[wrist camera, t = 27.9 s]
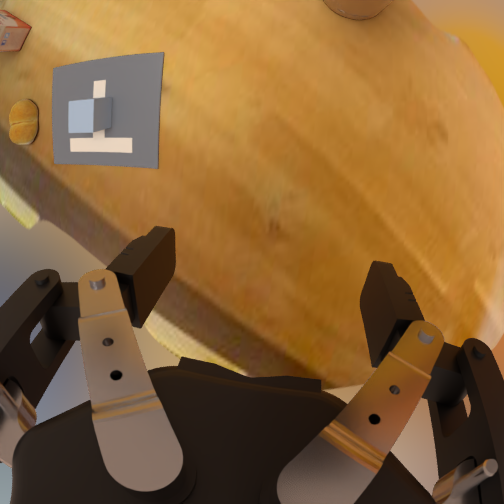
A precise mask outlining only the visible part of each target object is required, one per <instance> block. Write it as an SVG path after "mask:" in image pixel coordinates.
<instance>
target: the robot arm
mask: <svg viewBox="0 0 504 504" xmlns="http://www.w3.org/2000/svg"><path fill="white" fill-rule="evenodd" d="M323 1H324V2H325V4H326V5H327V6H328V7H329V8H330V9H331V10H333V11H334V12H336V13H337V14H339V15H341V16H343V17H347V18H350V19H356V20H364V19H369V18H372V17H374V16H376V15H377V14H378V13H380V12H381V11H382V10H383V9H384V8H385V7H386V6H388V5H389V4H390V3H391V2H392V1H393V0H323ZM175 265H176V254H175V231H174V229H173V228H167V227H160V226H155V227H154V228H153V229H152V230H151V231H150V232H149V233H148V234H147V235H146V236H141V237H139V238H137V239H135V240H133V241H132V242H131V243H130V244H129V245H128V246H127V247H126V249H124V250H123V251H122V252H121V254H119V255H118V256H117V257H116V258H115V259H114V260H113V261H112V262H111V264H110V265H109V266H108V267H107V268H106V269H98V270H93V271H90V272H88V273H86V274H84V275H83V276H82V277H81V278H80V279H79V282H61V280H60V276H59V273H58V272H57V271H55V270H51V269H44V270H40V271H38V272H35V273H34V274H32V275H31V276H30V277H29V278H28V279H27V280H26V281H25V282H24V283H23V284H22V285H21V286H20V287H19V288H18V289H17V290H16V291H15V292H14V293H13V294H12V295H11V296H10V298H9V299H8V300H7V301H6V302H5V303H4V304H3V305H2V306H1V307H0V463H2V462H3V463H5V464H6V465H7V466H9V467H11V468H12V477H13V480H12V495H11V501H10V504H504V380H503V377H502V375H501V372H500V370H499V367H498V365H497V363H496V360H495V358H494V356H493V354H492V351H491V350H490V348H489V347H488V346H487V345H486V344H485V343H484V342H482V341H480V340H478V339H475V338H469V339H467V340H465V342H464V343H463V345H462V346H461V348H460V347H457V346H454V345H451V344H448V343H446V342H444V336H443V334H442V332H441V331H440V330H439V329H438V328H437V327H436V326H435V325H433V324H431V323H429V322H427V321H425V320H424V317H423V315H422V313H421V310H420V308H419V306H418V303H417V302H416V299H415V297H414V295H413V292H412V290H411V288H410V286H409V284H408V283H407V282H406V281H405V280H404V279H403V278H402V277H398V276H397V273H396V271H395V269H394V267H393V265H392V264H391V263H386V262H380V261H373V262H372V264H371V267H370V270H369V273H368V275H367V278H366V281H365V284H364V287H363V290H362V293H361V297H360V309H361V314H362V318H363V323H364V328H365V333H366V338H367V343H368V348H369V353H370V359H371V364H372V367H376V368H377V369H376V370H375V371H374V373H373V374H372V375H371V377H370V378H369V379H368V380H367V382H366V383H365V384H364V385H363V387H362V388H361V389H360V390H359V391H358V393H357V394H356V395H355V396H354V397H353V399H352V400H351V401H350V402H349V403H348V404H346V403H345V402H344V401H342V400H341V399H340V398H337V397H336V396H334V395H332V394H330V393H328V392H325V391H322V390H321V380H319V379H309V378H301V377H293V376H276V377H256V378H251V377H247V376H244V375H241V374H239V373H236V372H234V371H231V370H229V369H226V368H224V367H222V366H219V365H217V364H214V363H209V362H204V361H200V360H195V359H191V358H186V357H181V359H180V362H179V365H178V366H167V367H160V368H155V369H152V370H149V371H147V369H146V366H145V363H144V361H143V358H142V355H141V352H140V349H139V346H138V343H137V340H136V337H135V334H134V331H133V328H132V326H133V327H137V328H142V326H143V324H144V323H145V321H146V319H147V318H148V316H149V314H150V313H151V311H152V309H153V308H154V306H155V304H156V303H157V301H158V299H159V298H160V296H161V294H162V293H163V291H164V289H165V288H166V286H167V285H168V283H169V281H170V280H171V278H172V276H173V274H174V271H175ZM39 321H40V323H41V325H42V329H41V331H40V332H39V333H38V335H37V336H36V337H35V339H34V340H33V342H32V343H31V344H30V335H31V332H32V330H33V329H34V328H35V326H36V325H37V324H38V322H39ZM76 340H79V341H80V342H81V348H82V356H83V363H84V369H85V374H86V380H87V385H88V390H89V395H90V400H88V401H86V402H84V403H82V404H80V405H78V406H76V407H74V408H72V409H70V410H68V411H66V412H64V413H62V414H59V415H57V416H55V417H53V418H51V419H49V420H46V421H44V422H42V423H40V424H38V425H36V426H35V424H36V420H37V416H36V411H35V409H36V407H37V405H38V403H39V401H40V399H41V398H42V396H43V394H44V392H45V391H46V389H47V387H48V385H49V384H50V382H51V380H52V379H53V377H54V375H55V373H56V372H57V370H58V368H59V367H60V365H61V363H62V362H63V360H64V359H65V357H66V355H67V354H68V352H69V350H70V349H71V347H72V346H73V344H74V343H75V341H76ZM467 394H468V397H469V401H470V404H471V412H470V415H469V417H467V413H466V409H465V405H464V401H463V399H464V398H465V396H466V395H467ZM421 398H424V399H427V400H428V406H429V410H430V417H431V422H432V428H433V435H434V441H435V449H436V457H437V465H438V475H439V480H438V481H437V482H436V484H435V485H434V488H433V493H432V496H431V495H430V493H429V492H428V491H427V490H426V489H425V488H424V487H423V486H422V485H421V484H420V483H419V482H418V481H417V480H416V478H415V477H414V476H413V475H412V474H411V473H410V472H409V471H408V470H407V469H406V468H405V467H404V465H403V464H402V463H401V462H400V461H399V460H398V459H397V458H396V457H395V456H394V455H393V453H392V452H391V451H390V450H391V448H392V446H393V445H394V443H395V442H396V440H397V438H398V437H399V436H400V434H401V432H402V431H403V429H404V427H405V426H406V424H407V422H408V420H409V419H410V417H411V415H412V414H413V412H414V410H415V408H416V406H417V404H418V403H419V401H420V399H421Z"/></svg>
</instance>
